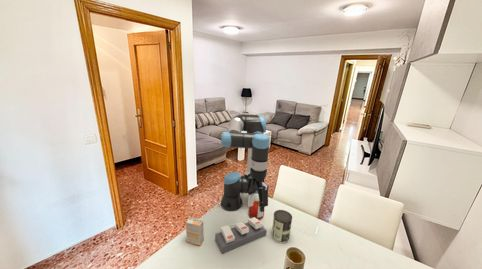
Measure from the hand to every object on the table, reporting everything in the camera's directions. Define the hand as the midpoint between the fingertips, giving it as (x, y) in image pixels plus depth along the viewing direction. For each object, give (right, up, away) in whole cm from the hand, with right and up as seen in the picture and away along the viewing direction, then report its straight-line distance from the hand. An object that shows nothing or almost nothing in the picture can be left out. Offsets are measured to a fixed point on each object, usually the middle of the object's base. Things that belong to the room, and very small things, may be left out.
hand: (255, 210), depth 93 cm
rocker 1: (-14, -17, +10) cm, 25 cm away
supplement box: (-32, -22, +12) cm, 40 cm away
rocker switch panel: (-7, -22, +16) cm, 28 cm away
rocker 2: (-6, -17, +14) cm, 23 cm away
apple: (+3, -17, +35) cm, 39 cm away
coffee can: (+16, -22, +18) cm, 33 cm away
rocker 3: (+1, -16, +19) cm, 25 cm away
